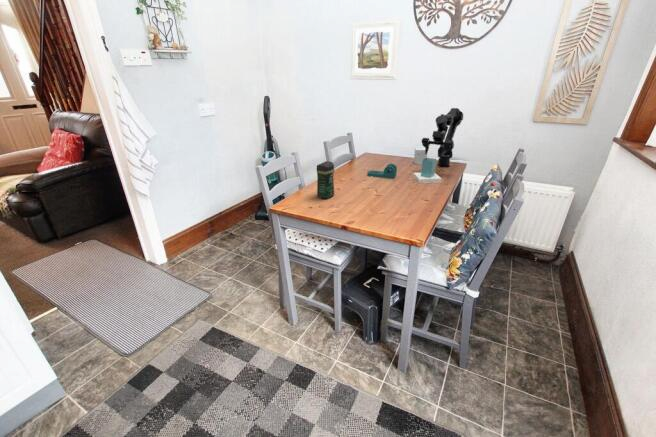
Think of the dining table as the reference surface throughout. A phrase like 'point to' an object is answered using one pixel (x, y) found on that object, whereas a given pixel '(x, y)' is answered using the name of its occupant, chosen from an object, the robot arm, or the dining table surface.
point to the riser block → (427, 178)
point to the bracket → (385, 172)
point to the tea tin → (428, 167)
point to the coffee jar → (325, 179)
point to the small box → (419, 155)
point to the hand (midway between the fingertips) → (433, 155)
